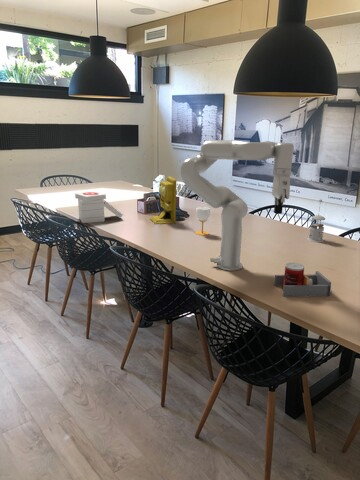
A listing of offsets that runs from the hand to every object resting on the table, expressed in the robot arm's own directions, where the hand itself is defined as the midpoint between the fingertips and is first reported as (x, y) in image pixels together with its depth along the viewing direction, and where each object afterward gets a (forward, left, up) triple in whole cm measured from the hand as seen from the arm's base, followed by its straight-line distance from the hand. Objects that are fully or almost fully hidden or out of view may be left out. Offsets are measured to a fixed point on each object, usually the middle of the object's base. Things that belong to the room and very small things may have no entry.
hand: (277, 213), depth 175 cm
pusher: (+9, -18, -29) cm, 36 cm away
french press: (+45, +54, -29) cm, 76 cm away
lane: (+7, -18, -29) cm, 35 cm away
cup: (-23, +68, -29) cm, 78 cm away
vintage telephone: (-47, +100, -29) cm, 114 cm away
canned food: (+3, -18, -29) cm, 35 cm away
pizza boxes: (-90, +104, -29) cm, 141 cm away
